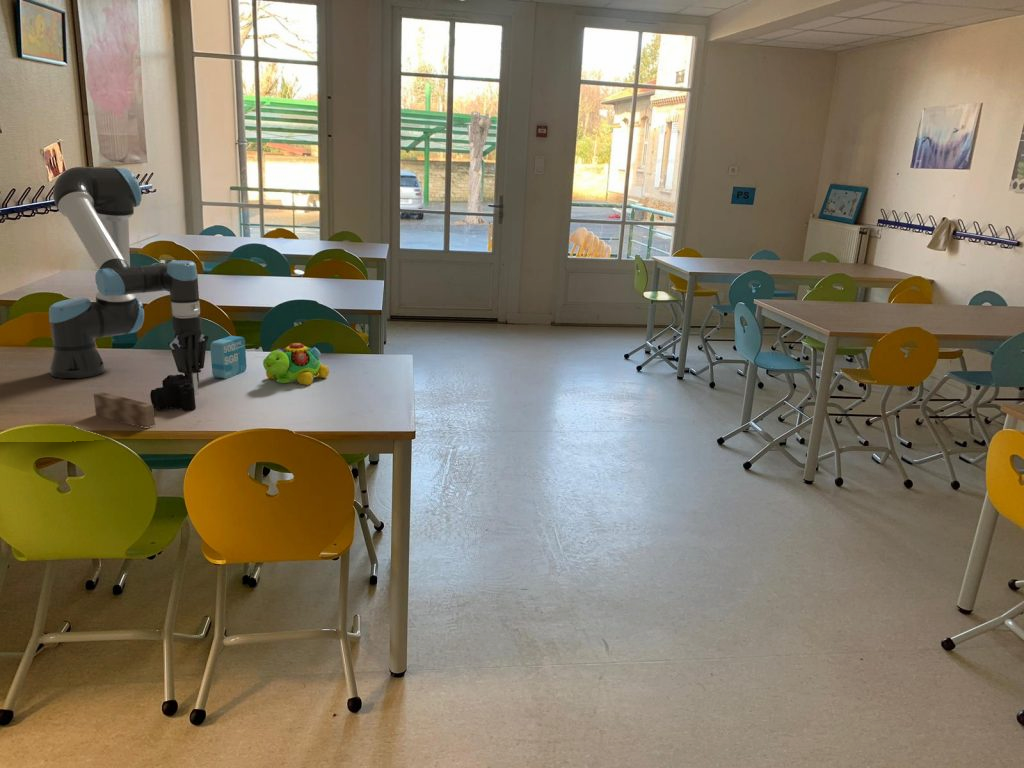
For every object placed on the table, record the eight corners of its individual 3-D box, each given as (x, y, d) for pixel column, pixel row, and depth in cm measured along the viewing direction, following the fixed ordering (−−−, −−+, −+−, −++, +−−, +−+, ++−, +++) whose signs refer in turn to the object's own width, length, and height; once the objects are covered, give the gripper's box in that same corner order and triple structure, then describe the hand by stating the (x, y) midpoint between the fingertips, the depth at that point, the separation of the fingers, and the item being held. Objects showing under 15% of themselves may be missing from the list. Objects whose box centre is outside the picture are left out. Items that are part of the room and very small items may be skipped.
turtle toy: (247, 386, 235) (245, 350, 231) (293, 368, 256) (291, 335, 252) (292, 393, 229) (291, 357, 226) (335, 375, 250) (334, 341, 247)
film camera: (143, 403, 214) (140, 373, 212) (177, 397, 221) (175, 368, 218) (165, 417, 204) (162, 385, 202) (200, 410, 211) (197, 379, 208)
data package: (224, 380, 239) (221, 343, 236) (212, 378, 240) (209, 342, 237) (247, 370, 250) (244, 336, 247) (235, 369, 252) (233, 334, 248)
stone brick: (96, 415, 204) (93, 394, 202) (104, 412, 206) (101, 391, 204) (147, 428, 195) (145, 407, 194) (155, 426, 198) (153, 404, 196)
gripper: (177, 321, 206) (184, 401, 213) (213, 313, 217) (219, 390, 224) (157, 317, 209) (165, 397, 216) (194, 310, 220) (201, 386, 227)
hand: (193, 393), depth 220 cm, fingers closed
